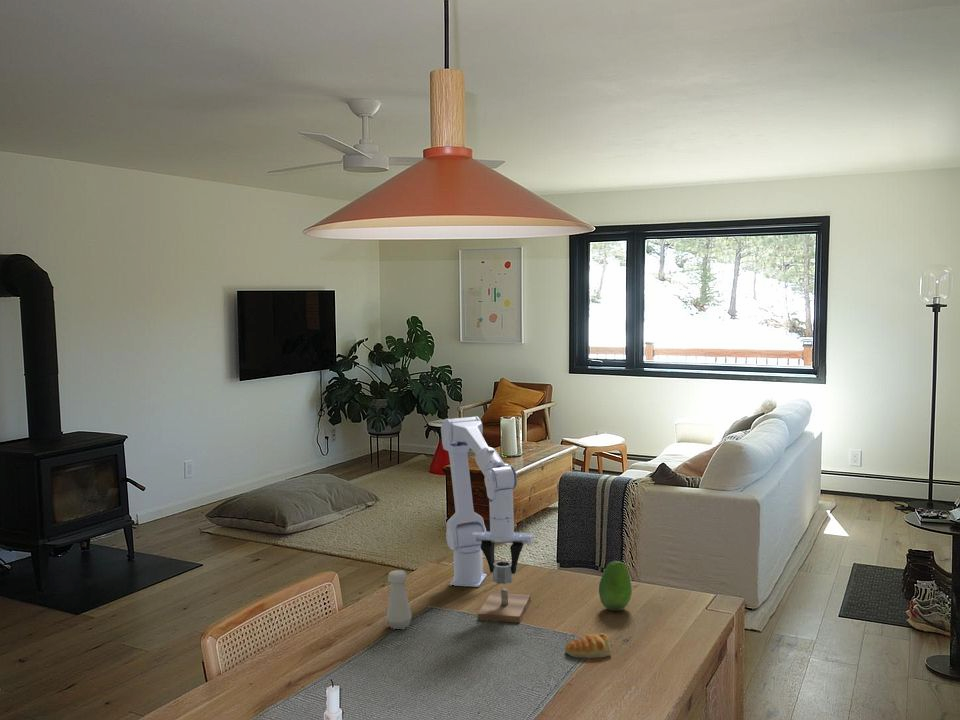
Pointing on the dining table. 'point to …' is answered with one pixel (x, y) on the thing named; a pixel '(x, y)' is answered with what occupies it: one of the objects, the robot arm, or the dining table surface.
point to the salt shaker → (398, 601)
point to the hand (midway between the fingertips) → (503, 571)
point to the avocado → (615, 586)
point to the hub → (502, 572)
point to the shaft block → (504, 607)
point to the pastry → (589, 646)
